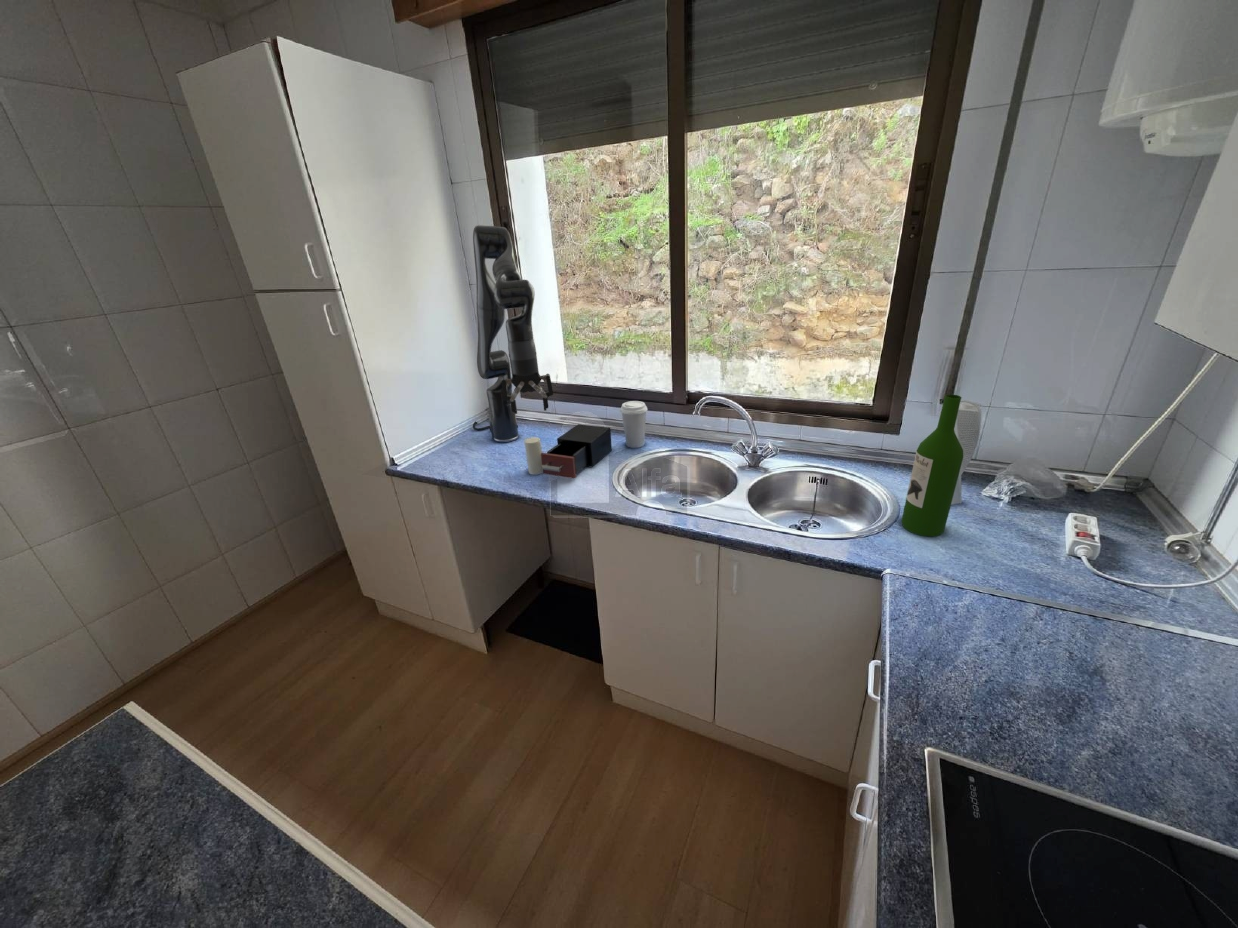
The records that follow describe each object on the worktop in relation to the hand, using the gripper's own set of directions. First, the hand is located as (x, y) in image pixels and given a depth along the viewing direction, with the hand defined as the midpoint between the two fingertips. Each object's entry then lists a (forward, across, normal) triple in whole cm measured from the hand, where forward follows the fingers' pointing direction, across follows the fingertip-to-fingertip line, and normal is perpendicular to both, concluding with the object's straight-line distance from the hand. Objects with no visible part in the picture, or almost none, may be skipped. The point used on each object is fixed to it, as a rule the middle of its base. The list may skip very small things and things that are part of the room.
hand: (530, 411), depth 143 cm
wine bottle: (+23, -90, +52) cm, 107 cm away
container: (+22, +1, -7) cm, 24 cm away
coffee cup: (+23, -34, -20) cm, 46 cm away
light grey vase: (+23, -105, +42) cm, 115 cm away
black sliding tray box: (+22, -16, -15) cm, 31 cm away
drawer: (+22, -8, -3) cm, 23 cm away
